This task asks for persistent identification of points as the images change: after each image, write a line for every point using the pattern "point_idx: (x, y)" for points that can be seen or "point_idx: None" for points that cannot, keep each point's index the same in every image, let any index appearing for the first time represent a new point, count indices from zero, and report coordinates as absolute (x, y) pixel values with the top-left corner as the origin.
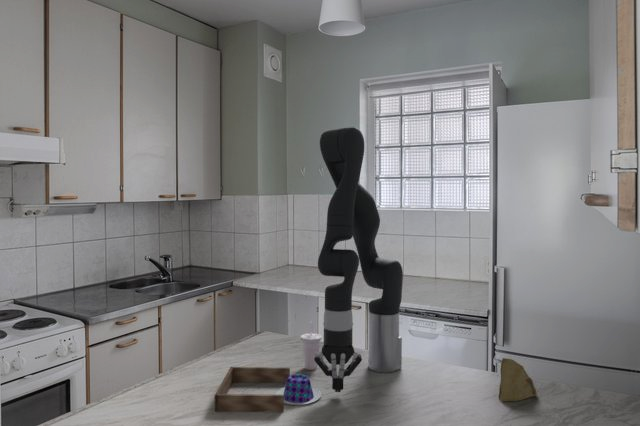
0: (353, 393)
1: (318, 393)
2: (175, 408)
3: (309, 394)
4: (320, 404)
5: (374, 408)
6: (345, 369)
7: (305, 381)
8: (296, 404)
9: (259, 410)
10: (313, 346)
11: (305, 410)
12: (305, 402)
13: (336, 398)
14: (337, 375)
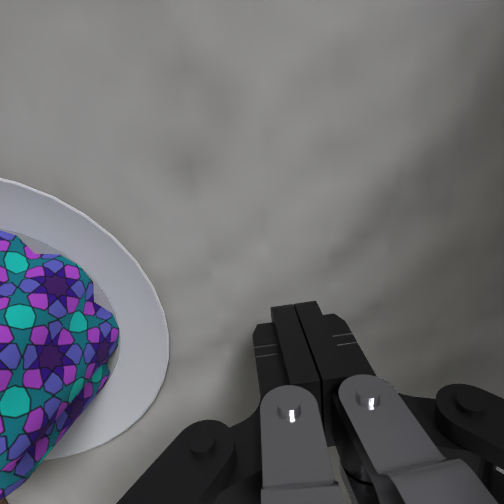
0: (399, 236)
1: (141, 297)
2: None
3: (89, 389)
4: (187, 409)
5: None
6: (450, 448)
7: (7, 492)
8: (47, 458)
9: None
10: None
11: (120, 474)
12: (89, 407)
13: None
14: (318, 380)
